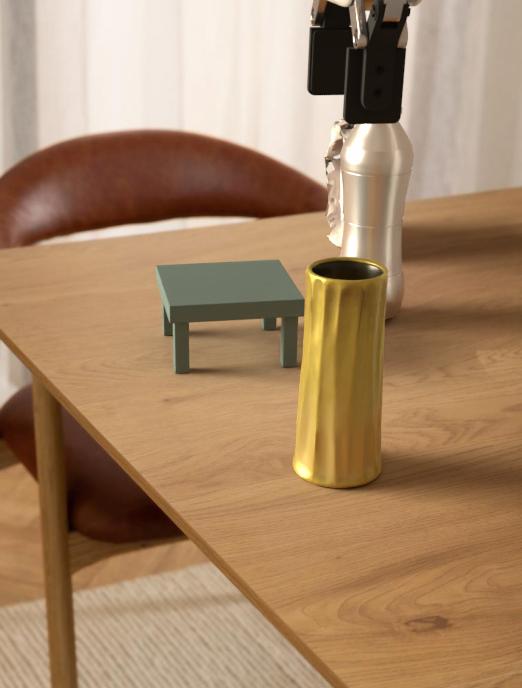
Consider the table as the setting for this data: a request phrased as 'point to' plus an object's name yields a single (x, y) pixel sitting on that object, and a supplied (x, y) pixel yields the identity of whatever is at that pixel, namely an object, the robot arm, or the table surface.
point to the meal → (336, 181)
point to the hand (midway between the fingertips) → (350, 107)
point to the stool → (229, 301)
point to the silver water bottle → (376, 199)
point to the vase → (341, 373)
